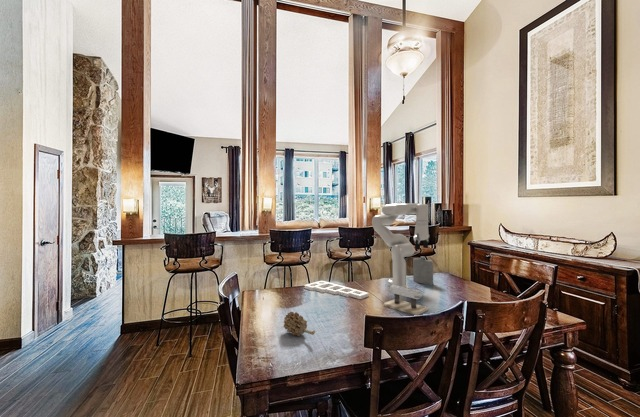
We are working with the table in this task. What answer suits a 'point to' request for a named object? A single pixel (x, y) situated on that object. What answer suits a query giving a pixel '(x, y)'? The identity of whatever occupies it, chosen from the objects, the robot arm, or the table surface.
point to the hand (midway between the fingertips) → (421, 248)
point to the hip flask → (423, 271)
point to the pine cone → (296, 324)
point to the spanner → (406, 291)
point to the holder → (340, 290)
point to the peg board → (405, 305)
